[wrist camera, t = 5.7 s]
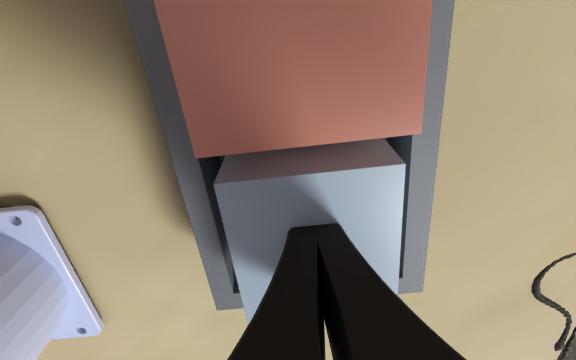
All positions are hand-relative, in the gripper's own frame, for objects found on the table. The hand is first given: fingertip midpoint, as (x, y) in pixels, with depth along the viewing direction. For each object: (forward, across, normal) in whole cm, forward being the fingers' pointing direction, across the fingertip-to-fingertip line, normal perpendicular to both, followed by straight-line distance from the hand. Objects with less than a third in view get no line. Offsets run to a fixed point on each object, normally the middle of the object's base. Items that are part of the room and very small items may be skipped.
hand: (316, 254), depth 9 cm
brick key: (+2, 0, -6) cm, 6 cm away
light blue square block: (+3, 0, 0) cm, 3 cm away
